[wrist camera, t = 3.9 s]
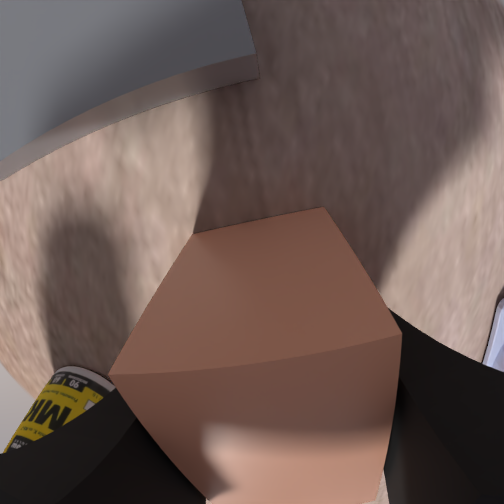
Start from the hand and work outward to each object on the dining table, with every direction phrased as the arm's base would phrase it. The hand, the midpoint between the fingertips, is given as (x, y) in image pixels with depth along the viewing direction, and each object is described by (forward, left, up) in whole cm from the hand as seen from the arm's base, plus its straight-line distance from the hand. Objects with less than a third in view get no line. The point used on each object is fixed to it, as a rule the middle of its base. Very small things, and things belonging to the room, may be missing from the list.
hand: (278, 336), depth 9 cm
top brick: (0, 0, -2) cm, 2 cm away
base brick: (+4, -12, -2) cm, 13 cm away
